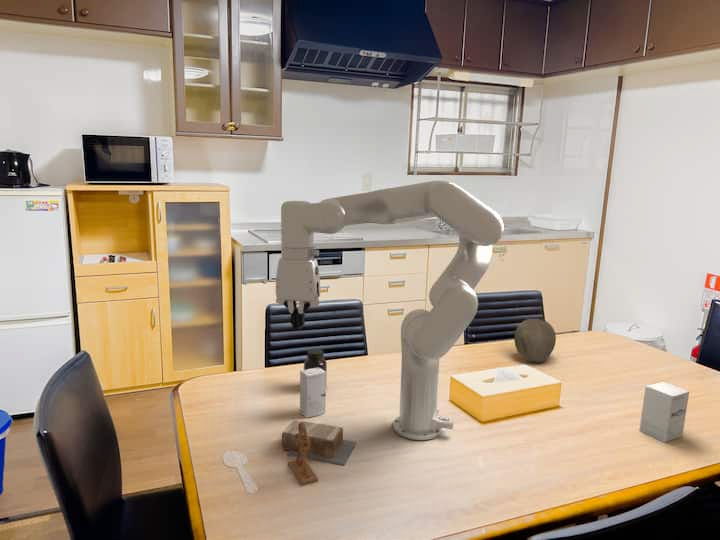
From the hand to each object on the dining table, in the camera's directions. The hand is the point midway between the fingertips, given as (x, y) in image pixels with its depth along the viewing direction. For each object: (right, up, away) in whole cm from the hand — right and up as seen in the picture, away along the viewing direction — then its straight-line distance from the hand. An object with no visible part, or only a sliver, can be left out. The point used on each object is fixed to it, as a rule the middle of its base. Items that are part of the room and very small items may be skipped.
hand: (297, 327), depth 127 cm
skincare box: (+2, -25, +17) cm, 30 cm away
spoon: (-11, -31, -11) cm, 35 cm away
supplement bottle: (+1, -22, +32) cm, 39 cm away
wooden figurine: (+2, -31, -12) cm, 33 cm away
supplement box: (+93, -29, +9) cm, 98 cm away
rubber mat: (+6, -29, -2) cm, 30 cm away
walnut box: (-2, -26, 0) cm, 26 cm away
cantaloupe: (+77, -18, +59) cm, 99 cm away
